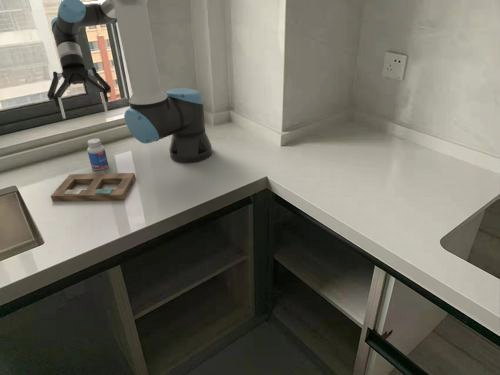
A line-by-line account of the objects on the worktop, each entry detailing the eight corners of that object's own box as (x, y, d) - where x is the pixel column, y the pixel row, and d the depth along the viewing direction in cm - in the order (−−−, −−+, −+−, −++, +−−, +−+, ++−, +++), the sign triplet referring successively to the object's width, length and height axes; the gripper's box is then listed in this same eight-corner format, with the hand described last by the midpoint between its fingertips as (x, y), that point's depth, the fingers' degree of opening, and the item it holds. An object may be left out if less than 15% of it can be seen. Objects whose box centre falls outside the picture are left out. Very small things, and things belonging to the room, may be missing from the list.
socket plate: (135, 178, 118) (134, 172, 117) (123, 200, 107) (122, 193, 106) (71, 179, 119) (69, 173, 118) (52, 201, 108) (50, 195, 106)
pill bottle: (103, 171, 123) (96, 144, 118) (89, 170, 124) (81, 143, 119) (111, 163, 128) (105, 138, 123) (97, 162, 129) (90, 137, 124)
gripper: (109, 61, 137) (123, 112, 133) (34, 69, 128) (47, 124, 124) (107, 49, 130) (122, 102, 126) (29, 56, 121) (42, 114, 118)
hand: (85, 113), depth 125 cm, fingers open, 13 cm apart
